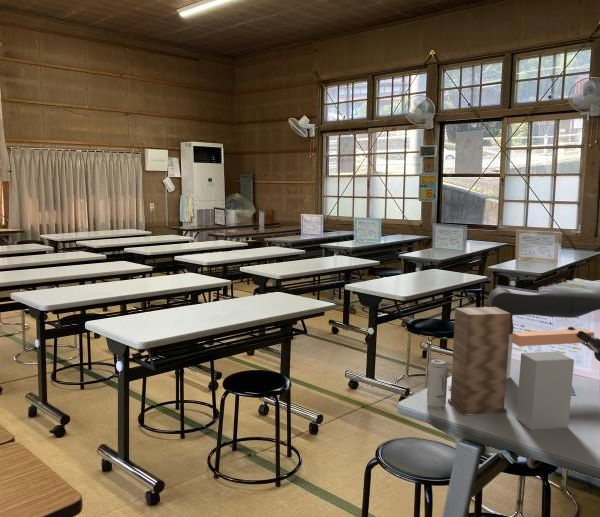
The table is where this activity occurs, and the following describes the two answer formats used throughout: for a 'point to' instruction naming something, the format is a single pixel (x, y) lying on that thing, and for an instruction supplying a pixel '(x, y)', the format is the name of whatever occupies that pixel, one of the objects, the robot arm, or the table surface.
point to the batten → (548, 337)
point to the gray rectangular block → (545, 390)
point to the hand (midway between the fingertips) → (573, 331)
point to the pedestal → (480, 360)
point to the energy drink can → (437, 384)
